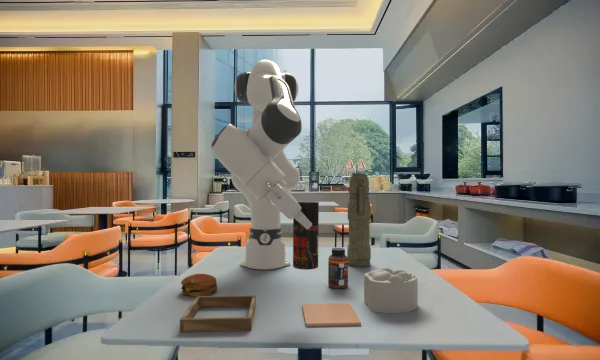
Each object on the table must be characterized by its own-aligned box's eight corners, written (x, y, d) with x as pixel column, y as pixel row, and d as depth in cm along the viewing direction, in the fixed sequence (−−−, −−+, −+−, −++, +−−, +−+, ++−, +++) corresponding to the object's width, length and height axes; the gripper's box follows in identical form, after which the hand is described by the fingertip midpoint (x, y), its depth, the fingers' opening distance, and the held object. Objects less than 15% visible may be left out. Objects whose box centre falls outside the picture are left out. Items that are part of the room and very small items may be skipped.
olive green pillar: (351, 268, 121) (351, 173, 122) (344, 261, 133) (344, 174, 134) (375, 268, 122) (375, 173, 123) (365, 260, 134) (365, 174, 135)
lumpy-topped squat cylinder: (361, 298, 89) (361, 266, 90) (408, 297, 90) (408, 265, 90) (372, 313, 79) (372, 276, 79) (425, 312, 80) (425, 276, 80)
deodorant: (292, 263, 80) (292, 201, 80) (316, 263, 81) (316, 201, 81) (293, 269, 74) (294, 202, 74) (319, 269, 75) (320, 203, 75)
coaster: (302, 306, 83) (302, 303, 83) (349, 305, 84) (349, 303, 84) (306, 326, 71) (306, 323, 71) (361, 325, 72) (361, 322, 72)
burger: (217, 286, 100) (217, 270, 100) (215, 296, 91) (216, 279, 91) (183, 288, 98) (183, 272, 98) (178, 299, 89) (178, 281, 89)
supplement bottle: (347, 290, 96) (347, 251, 97) (327, 288, 98) (327, 250, 98) (348, 284, 102) (348, 247, 102) (329, 282, 103) (329, 246, 104)
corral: (197, 306, 83) (197, 296, 83) (255, 305, 84) (255, 295, 84) (179, 332, 68) (179, 319, 68) (250, 330, 69) (251, 318, 69)
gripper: (275, 171, 67) (323, 220, 67) (277, 174, 87) (314, 211, 88) (253, 193, 67) (301, 242, 67) (260, 191, 87) (297, 228, 87)
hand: (308, 224), depth 78 cm, fingers closed on deodorant, 6 cm apart
